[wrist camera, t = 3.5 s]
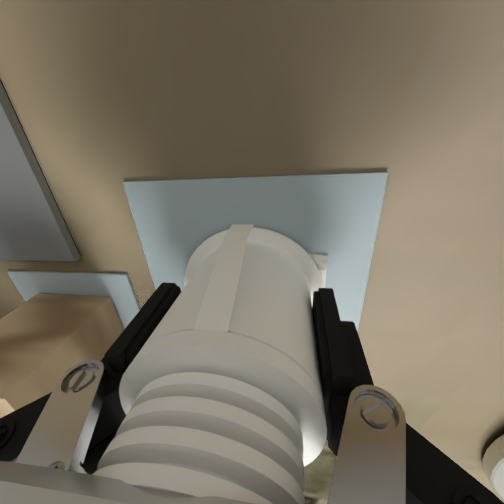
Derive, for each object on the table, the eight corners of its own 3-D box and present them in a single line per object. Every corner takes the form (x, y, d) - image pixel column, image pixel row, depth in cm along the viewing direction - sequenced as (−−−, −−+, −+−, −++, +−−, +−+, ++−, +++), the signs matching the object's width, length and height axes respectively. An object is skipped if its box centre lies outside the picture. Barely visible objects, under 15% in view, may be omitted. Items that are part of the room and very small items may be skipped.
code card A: (381, 169, 10) (389, 172, 9) (348, 355, 15) (350, 367, 14) (132, 178, 11) (121, 182, 11) (179, 342, 17) (174, 353, 16)
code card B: (134, 267, 14) (125, 276, 13) (166, 360, 18) (160, 370, 17) (19, 264, 15) (4, 272, 15) (71, 351, 19) (62, 361, 18)
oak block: (110, 296, 14) (4, 399, 9) (134, 354, 17) (62, 462, 11) (37, 293, 15) (-98, 385, 10) (71, 349, 17) (-24, 447, 12)
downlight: (317, 349, 14) (364, 745, 5) (199, 341, 15) (61, 650, 6) (328, 213, 10) (560, 706, 1) (174, 215, 11) (-242, 499, 3)
